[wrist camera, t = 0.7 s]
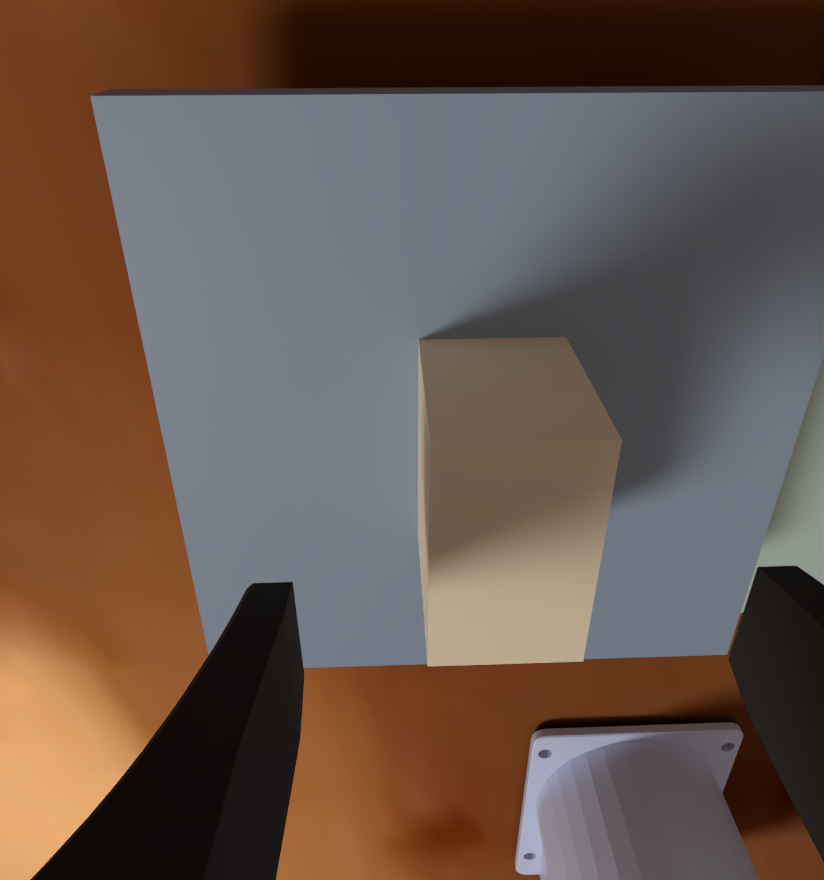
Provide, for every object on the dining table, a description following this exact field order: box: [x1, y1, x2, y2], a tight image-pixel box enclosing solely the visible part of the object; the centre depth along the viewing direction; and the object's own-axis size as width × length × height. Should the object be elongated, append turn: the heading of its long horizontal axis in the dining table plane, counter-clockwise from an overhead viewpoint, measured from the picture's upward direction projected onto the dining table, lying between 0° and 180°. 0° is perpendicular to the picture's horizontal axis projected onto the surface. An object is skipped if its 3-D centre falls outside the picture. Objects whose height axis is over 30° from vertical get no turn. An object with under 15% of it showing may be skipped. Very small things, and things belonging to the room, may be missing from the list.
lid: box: [90, 85, 824, 668], centre depth 15 cm, size 14×14×5 cm
